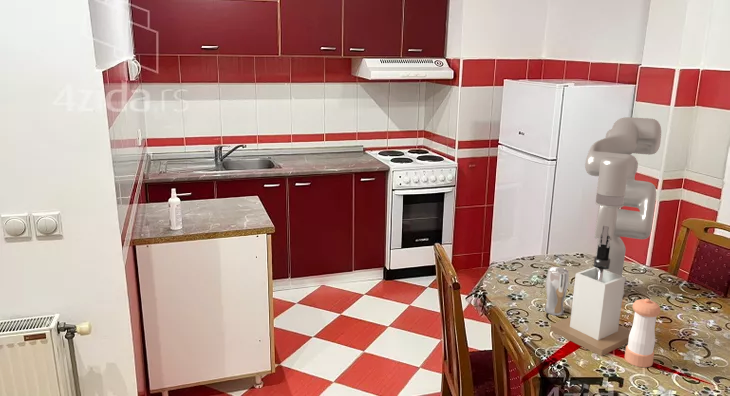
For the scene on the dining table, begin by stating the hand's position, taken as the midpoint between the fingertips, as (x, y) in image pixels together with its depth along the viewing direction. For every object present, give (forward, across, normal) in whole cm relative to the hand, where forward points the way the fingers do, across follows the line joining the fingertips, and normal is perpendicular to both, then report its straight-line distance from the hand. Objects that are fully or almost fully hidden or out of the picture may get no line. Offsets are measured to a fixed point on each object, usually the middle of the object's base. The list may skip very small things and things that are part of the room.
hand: (602, 258), depth 166 cm
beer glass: (+26, -12, -13) cm, 31 cm away
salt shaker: (+26, +10, +13) cm, 30 cm away
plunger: (+20, 0, 0) cm, 20 cm away
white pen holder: (+25, 0, 0) cm, 25 cm away
